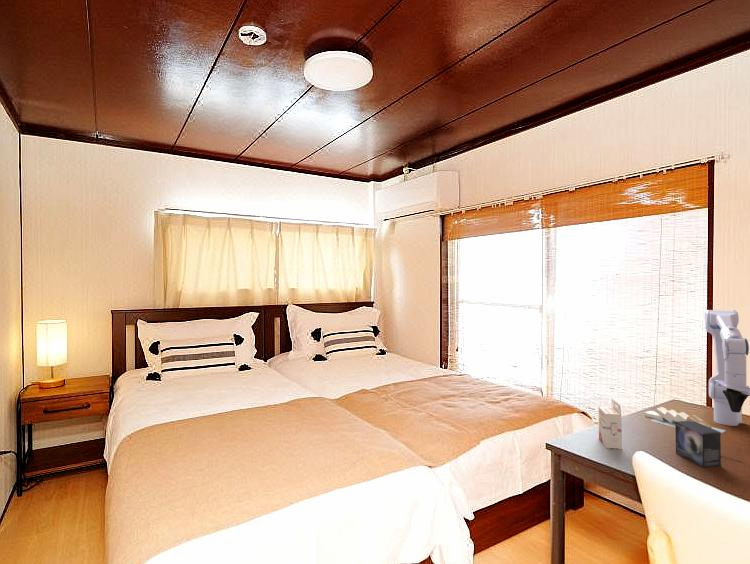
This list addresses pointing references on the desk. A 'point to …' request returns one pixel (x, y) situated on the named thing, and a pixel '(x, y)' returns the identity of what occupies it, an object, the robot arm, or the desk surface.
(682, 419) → the tile
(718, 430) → the domino board
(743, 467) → the desk surface
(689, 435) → the small box
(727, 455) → the desk surface
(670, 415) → the tile
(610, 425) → the ink cartridge box
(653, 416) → the tile
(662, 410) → the tile
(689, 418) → the tile
